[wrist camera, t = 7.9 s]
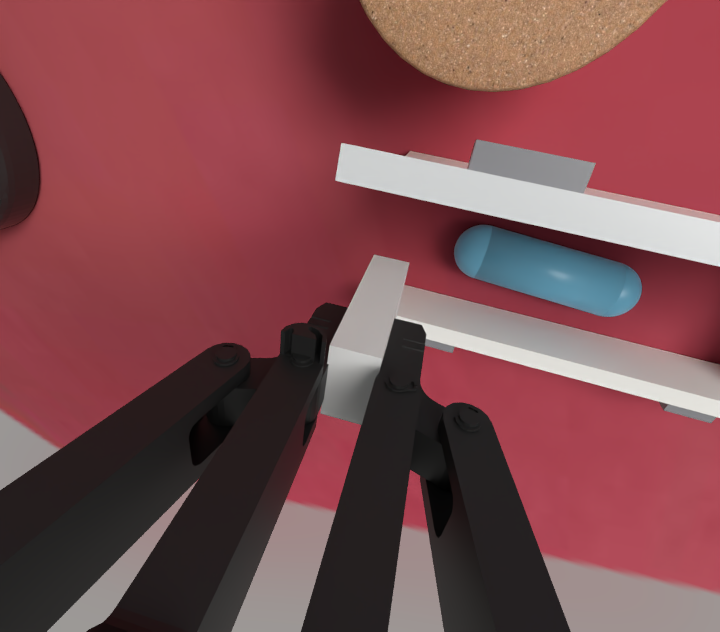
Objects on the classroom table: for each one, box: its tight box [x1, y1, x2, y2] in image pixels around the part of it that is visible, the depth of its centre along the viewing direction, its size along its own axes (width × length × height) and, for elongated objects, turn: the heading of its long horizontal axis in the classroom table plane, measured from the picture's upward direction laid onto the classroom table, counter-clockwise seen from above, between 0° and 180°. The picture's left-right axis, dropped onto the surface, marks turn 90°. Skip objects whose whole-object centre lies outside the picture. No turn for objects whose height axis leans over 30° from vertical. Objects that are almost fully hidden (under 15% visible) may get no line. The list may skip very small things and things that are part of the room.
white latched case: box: [396, 151, 720, 423], centre depth 21 cm, size 22×10×4 cm, turn 82°
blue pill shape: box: [454, 225, 642, 317], centre depth 22 cm, size 10×3×3 cm, turn 79°
